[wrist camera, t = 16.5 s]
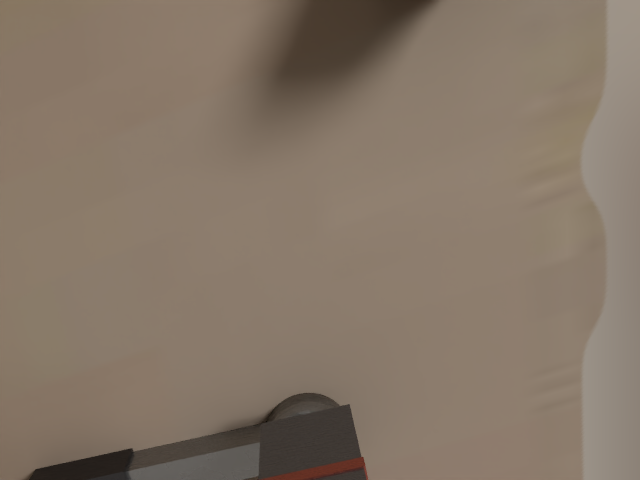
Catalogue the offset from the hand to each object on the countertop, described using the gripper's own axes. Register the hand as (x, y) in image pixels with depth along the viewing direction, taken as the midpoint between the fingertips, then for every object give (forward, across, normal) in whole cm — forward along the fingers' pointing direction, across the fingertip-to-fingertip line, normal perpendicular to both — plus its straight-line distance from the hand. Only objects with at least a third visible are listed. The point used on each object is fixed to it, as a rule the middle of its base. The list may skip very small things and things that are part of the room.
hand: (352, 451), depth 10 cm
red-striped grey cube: (+25, -2, -19) cm, 31 cm away
